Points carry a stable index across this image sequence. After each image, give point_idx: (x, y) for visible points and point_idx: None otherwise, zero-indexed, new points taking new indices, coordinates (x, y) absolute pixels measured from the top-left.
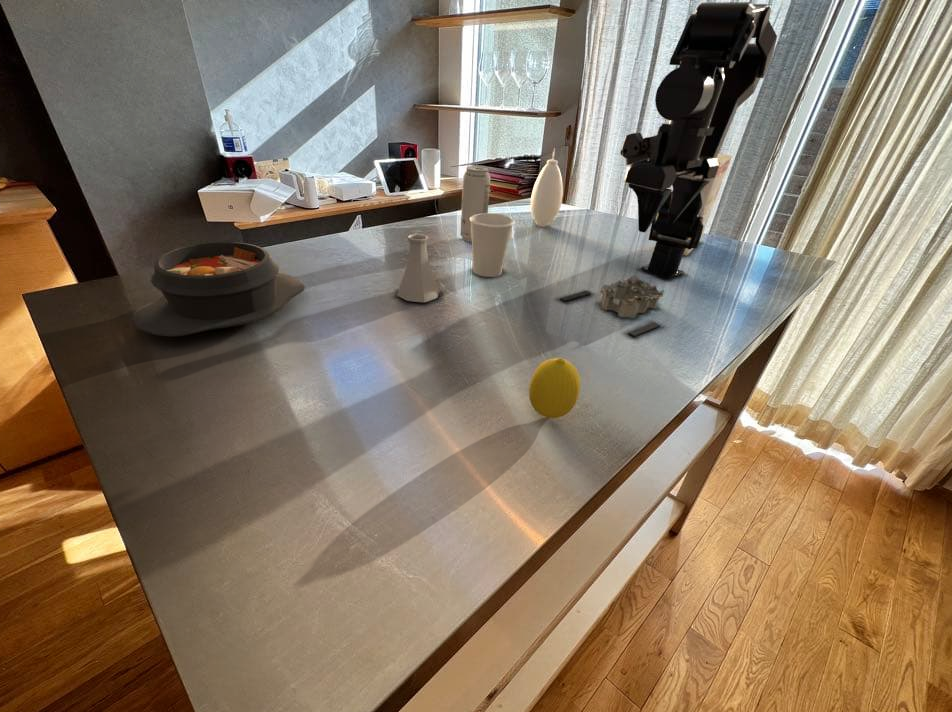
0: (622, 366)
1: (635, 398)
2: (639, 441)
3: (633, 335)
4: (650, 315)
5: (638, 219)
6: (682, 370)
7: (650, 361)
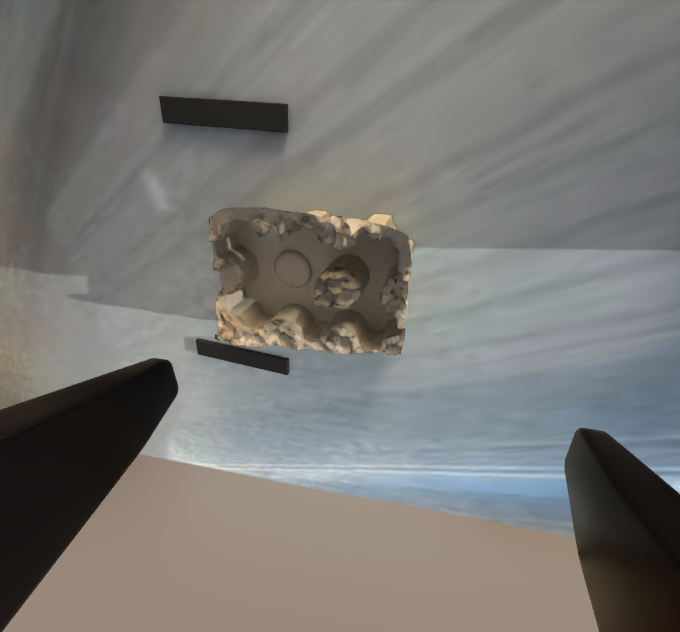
0: None
1: None
2: None
3: (198, 351)
4: None
5: (67, 388)
6: (193, 439)
7: None
